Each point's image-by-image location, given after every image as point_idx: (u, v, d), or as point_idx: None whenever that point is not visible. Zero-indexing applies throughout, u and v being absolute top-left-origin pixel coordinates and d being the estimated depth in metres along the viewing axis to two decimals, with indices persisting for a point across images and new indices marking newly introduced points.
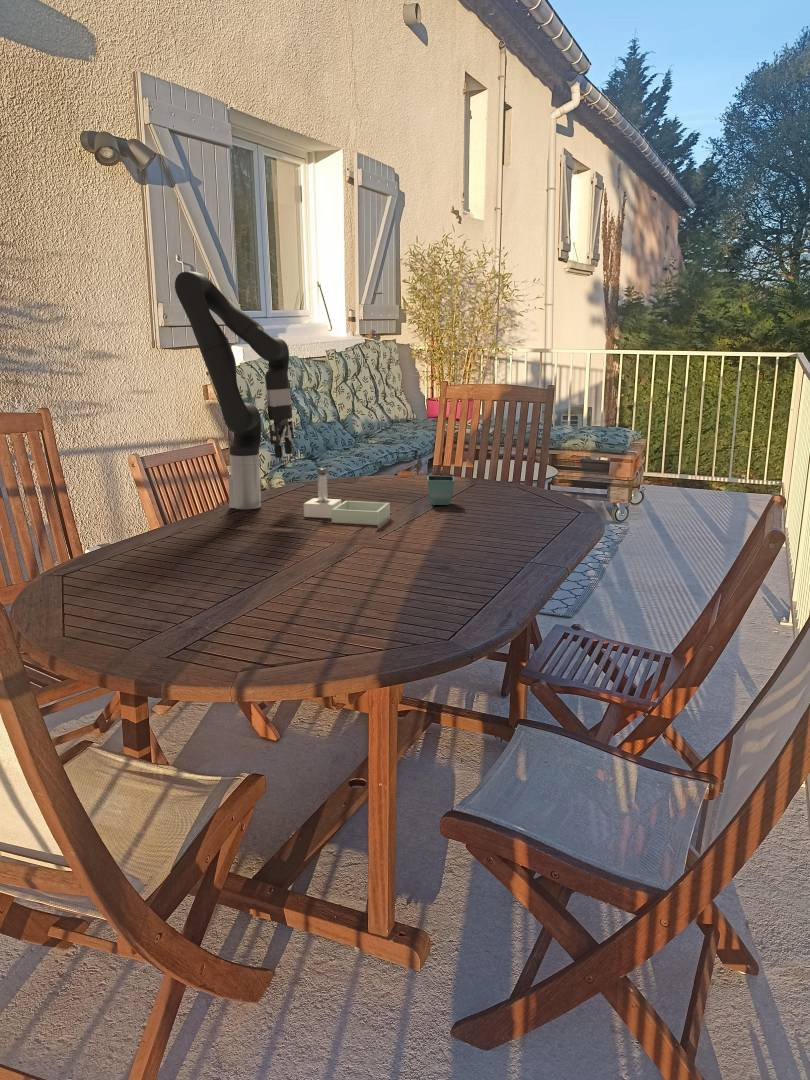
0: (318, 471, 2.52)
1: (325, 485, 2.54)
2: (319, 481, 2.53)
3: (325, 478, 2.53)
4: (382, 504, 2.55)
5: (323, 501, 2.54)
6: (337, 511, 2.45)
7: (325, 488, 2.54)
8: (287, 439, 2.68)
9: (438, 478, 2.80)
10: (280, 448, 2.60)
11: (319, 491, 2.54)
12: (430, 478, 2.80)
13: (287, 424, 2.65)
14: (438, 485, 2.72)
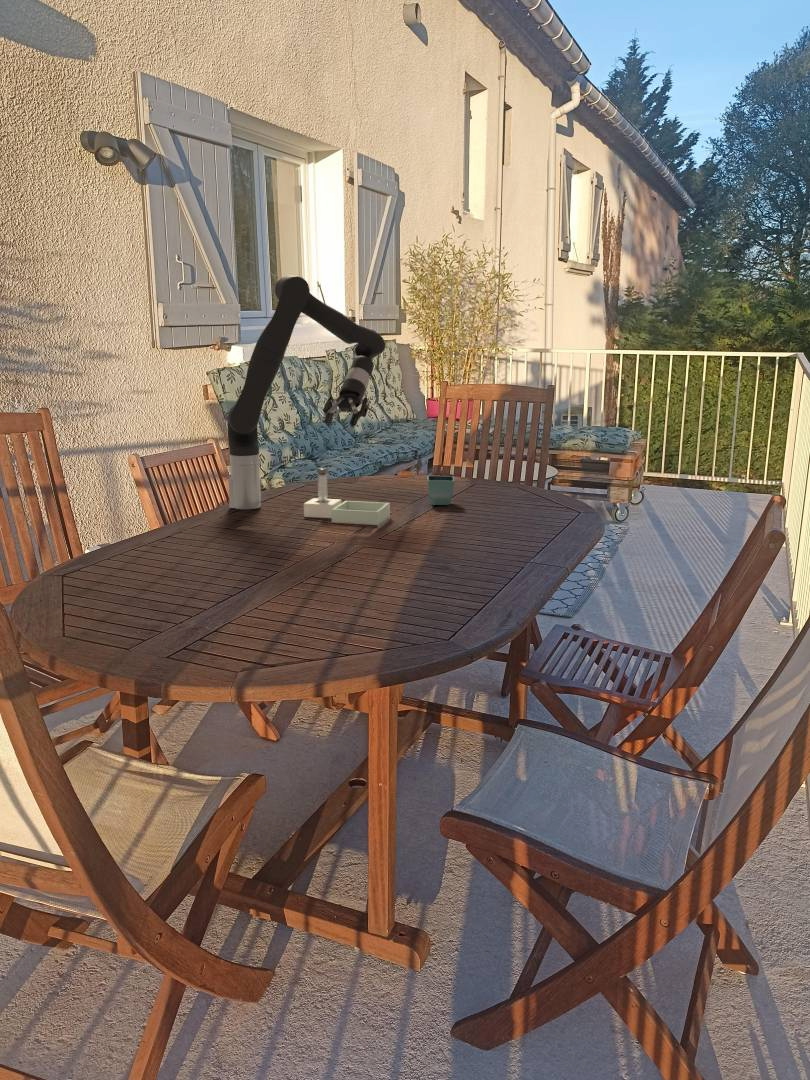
0: (318, 471, 2.52)
1: (325, 485, 2.54)
2: (319, 481, 2.53)
3: (325, 478, 2.53)
4: (382, 504, 2.55)
5: (323, 501, 2.54)
6: (337, 511, 2.45)
7: (325, 488, 2.54)
8: (332, 413, 2.64)
9: (438, 478, 2.80)
10: None
11: (319, 491, 2.54)
12: (430, 478, 2.80)
13: None
14: (438, 485, 2.72)
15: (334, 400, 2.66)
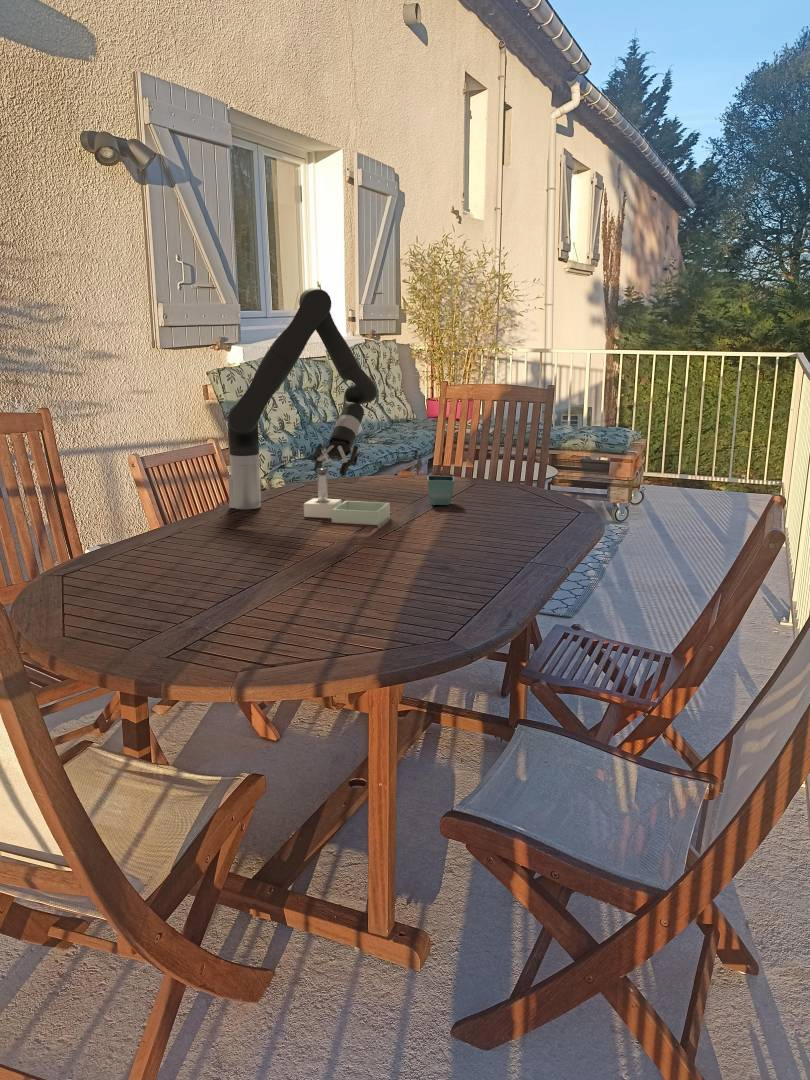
0: (318, 471, 2.52)
1: (325, 485, 2.54)
2: (319, 481, 2.53)
3: (325, 478, 2.53)
4: (382, 504, 2.55)
5: (323, 501, 2.54)
6: (337, 511, 2.45)
7: (325, 488, 2.54)
8: (321, 461, 2.61)
9: (438, 478, 2.80)
10: None
11: (319, 491, 2.54)
12: (430, 478, 2.80)
13: None
14: (438, 485, 2.72)
15: (324, 447, 2.63)
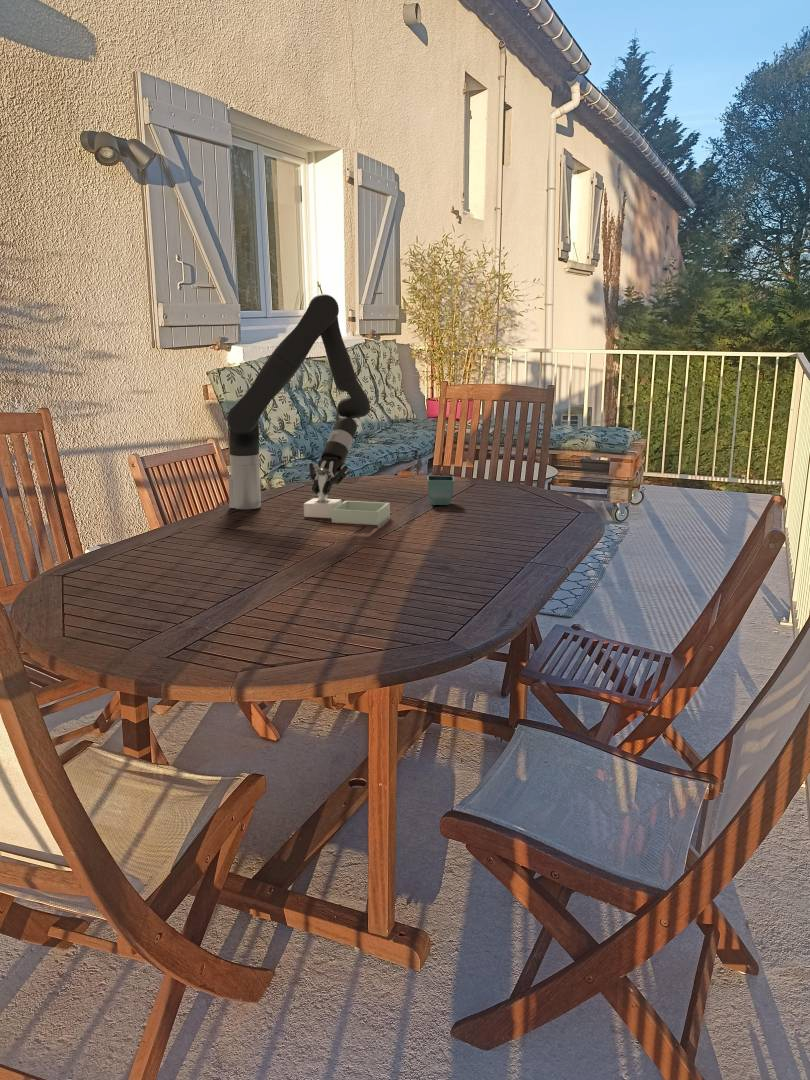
0: (318, 471, 2.52)
1: None
2: (319, 481, 2.53)
3: (325, 478, 2.53)
4: (382, 504, 2.55)
5: (323, 501, 2.54)
6: (337, 511, 2.45)
7: None
8: None
9: (438, 478, 2.80)
10: None
11: (319, 491, 2.54)
12: (430, 478, 2.80)
13: None
14: (438, 485, 2.72)
15: (316, 465, 2.59)
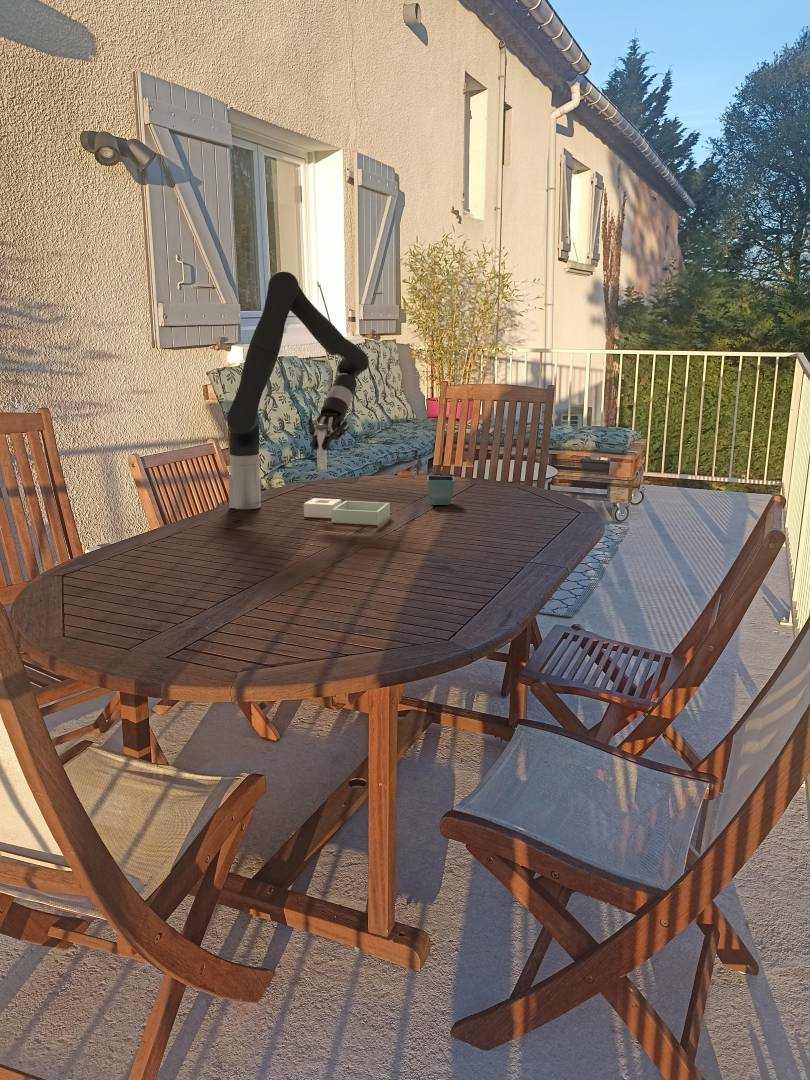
0: (317, 426, 2.49)
1: None
2: (318, 436, 2.50)
3: (324, 433, 2.50)
4: (382, 504, 2.55)
5: (322, 457, 2.51)
6: (337, 511, 2.45)
7: None
8: None
9: (438, 478, 2.80)
10: None
11: (318, 447, 2.51)
12: (430, 478, 2.80)
13: None
14: (438, 485, 2.72)
15: (315, 421, 2.56)
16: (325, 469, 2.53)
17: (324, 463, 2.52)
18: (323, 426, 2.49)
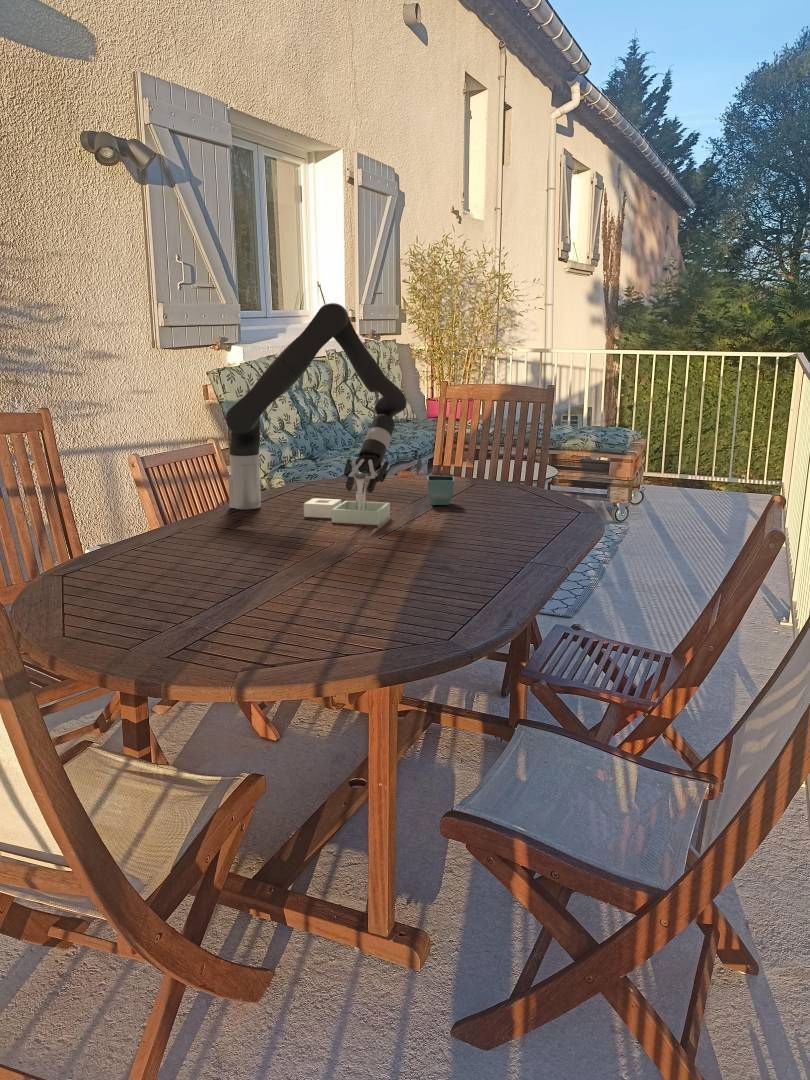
0: (356, 475, 2.47)
1: (363, 489, 2.48)
2: (357, 485, 2.48)
3: (363, 482, 2.48)
4: (382, 504, 2.55)
5: (361, 505, 2.49)
6: (337, 511, 2.45)
7: (363, 492, 2.48)
8: (353, 477, 2.51)
9: (438, 478, 2.80)
10: None
11: (357, 495, 2.48)
12: (430, 478, 2.80)
13: None
14: (438, 485, 2.72)
15: (353, 462, 2.53)
16: None
17: None
18: (362, 475, 2.47)
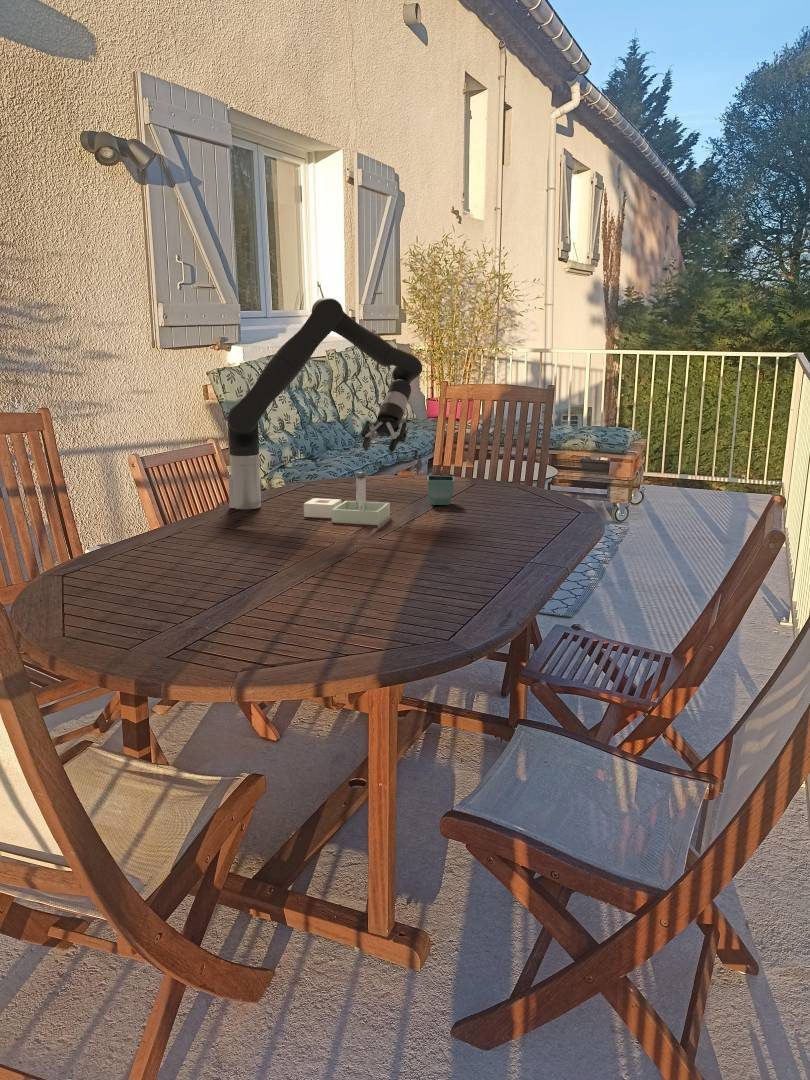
0: (357, 475, 2.47)
1: (364, 489, 2.48)
2: (357, 485, 2.48)
3: (364, 482, 2.48)
4: (382, 504, 2.55)
5: (361, 505, 2.49)
6: (337, 511, 2.45)
7: (363, 492, 2.48)
8: (369, 437, 2.61)
9: (438, 478, 2.80)
10: None
11: (357, 495, 2.49)
12: (430, 478, 2.80)
13: None
14: (438, 485, 2.72)
15: (371, 424, 2.63)
16: None
17: None
18: (362, 475, 2.47)
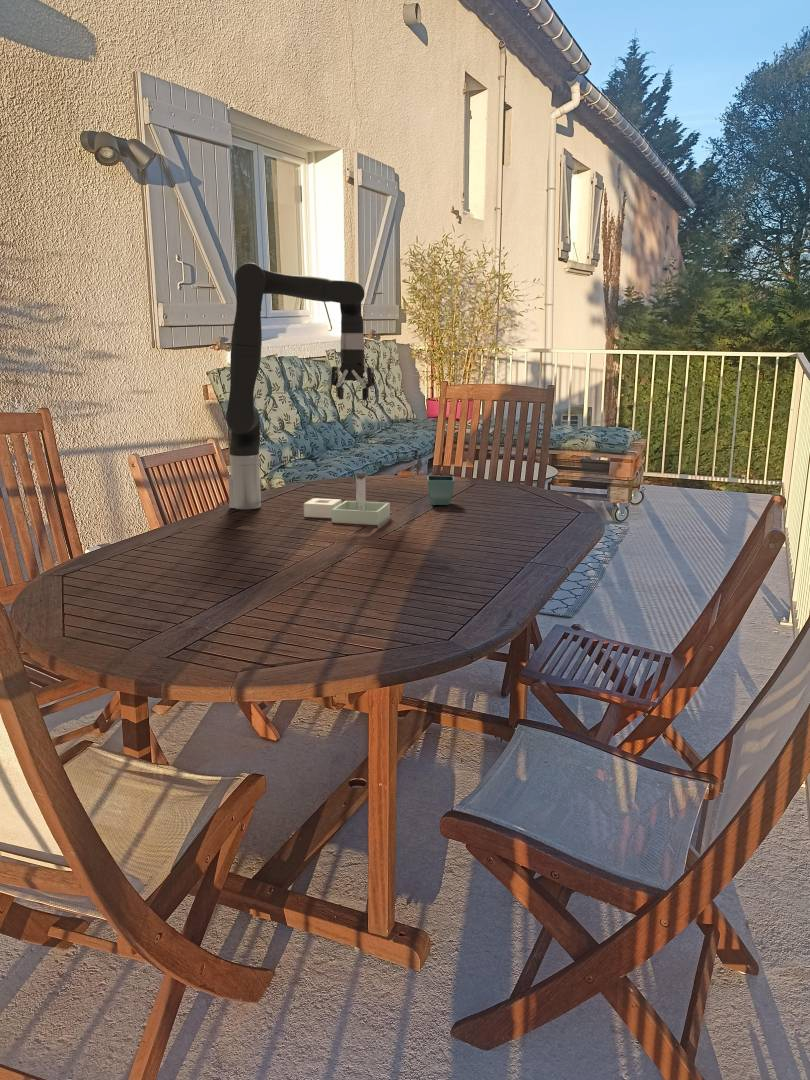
0: (356, 475, 2.47)
1: (363, 489, 2.48)
2: (357, 485, 2.48)
3: (363, 482, 2.48)
4: (382, 504, 2.55)
5: (361, 505, 2.49)
6: (337, 511, 2.45)
7: (363, 492, 2.48)
8: (341, 384, 2.71)
9: (438, 478, 2.80)
10: None
11: (357, 495, 2.49)
12: (430, 478, 2.80)
13: None
14: (438, 485, 2.72)
15: (338, 369, 2.69)
16: None
17: None
18: (362, 475, 2.47)
